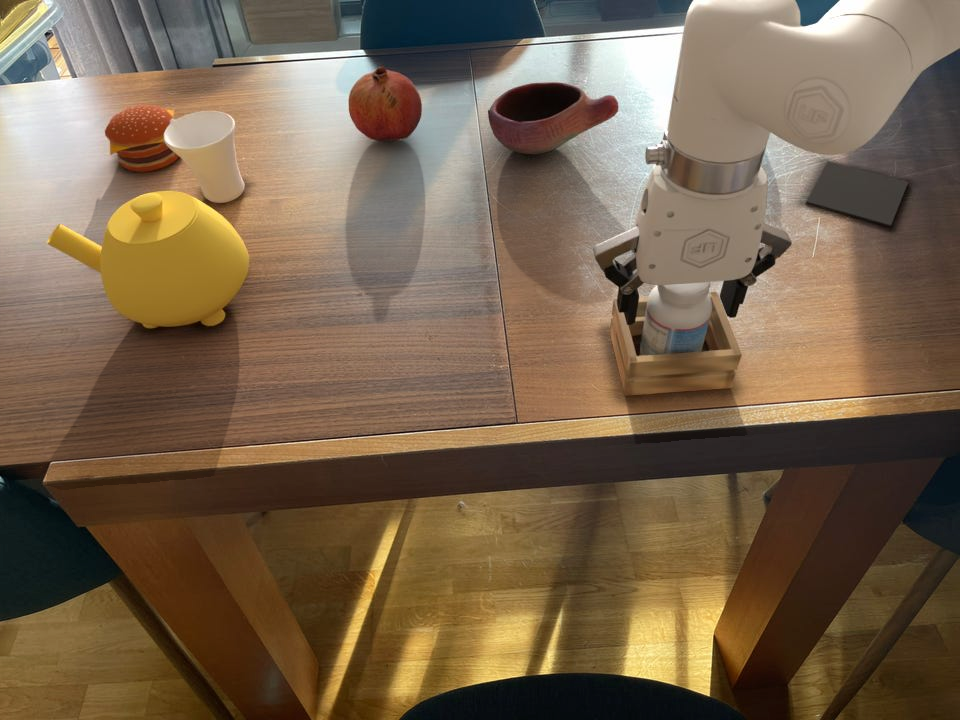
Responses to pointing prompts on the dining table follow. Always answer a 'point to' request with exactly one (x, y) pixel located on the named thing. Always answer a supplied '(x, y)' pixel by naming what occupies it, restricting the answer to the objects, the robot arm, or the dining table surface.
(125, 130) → the hamburger
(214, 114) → the cup
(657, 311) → the pill bottle
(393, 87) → the fruit
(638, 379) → the crate
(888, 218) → the plate
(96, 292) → the dining table surface
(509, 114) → the bowl
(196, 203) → the teapot
